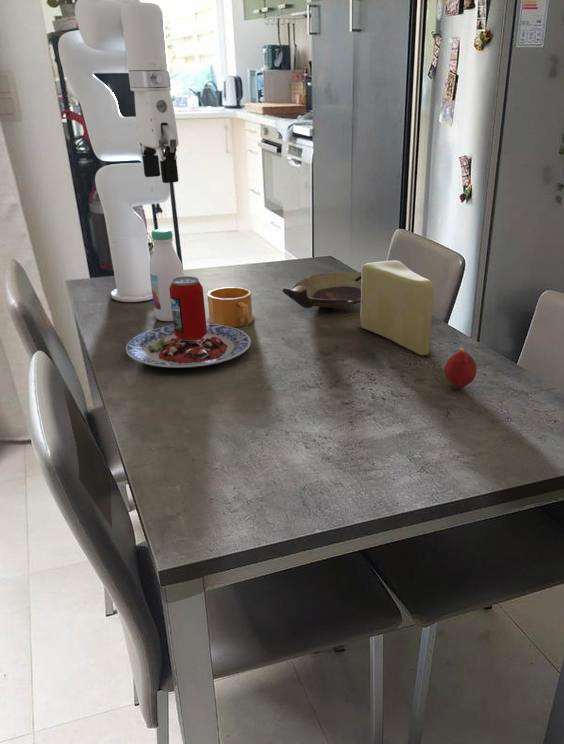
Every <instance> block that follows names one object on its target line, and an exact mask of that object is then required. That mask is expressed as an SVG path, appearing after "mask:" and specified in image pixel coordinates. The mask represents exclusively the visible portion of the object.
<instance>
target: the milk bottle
mask: <svg viewBox="0 0 564 744" xmlns="http://www.w3.org/2000/svg"><path fill="white" fill-rule="evenodd" d="M151 241H152V243H153V250H152V254H151V256H150V279H151V287H152V295H153V299H152V301H153V308H154V316H155V318H156V319H157V320H159V321H161V322H173V317H172V309H171V300H170V291H169V288H170V286H171V283H172V279H174V278H177V277H185V276H184V270H183V265H182V262H181V259H180V257H179V255H178V254H177V252H176V250H175V247H174V244H173V241H174V239H173V231H172V229H168V228H158V229H154V230H152V231H151Z"/></svg>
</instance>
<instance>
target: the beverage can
mask: <svg viewBox="0 0 564 744" xmlns="http://www.w3.org/2000/svg"><path fill="white" fill-rule="evenodd" d="M203 288H204V287H203V285H202V284H201V282H200V280H199V278H198V277H196V276H189V275H188V276H187V275H185V276H184V277H177V278H174V279H172V283H171V286H170V288H169V291H170V300H171V309H172V317H173V321H172V325H174V333H175V336H176V337H178V338H180V339H181V340H184V341H195V340H199V339H201V338H202V337H203V336H205V335H206V334H207V327H206V324H207V317H206V306H205V296H204V289H203Z"/></svg>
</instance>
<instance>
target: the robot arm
mask: <svg viewBox="0 0 564 744" xmlns="http://www.w3.org/2000/svg"><path fill="white" fill-rule="evenodd" d="M163 13H164V12H163V10H162V8H161V7H160V5H159V4H156V3H152V2H141V0H76V2H75V5H74V17H75V19H76V22H77V27H78V29H77V30H72V31H68V32H67V31H66V32H65V33H63V34H62V35H61V36H60V37H59V39H58V43H57V47H58V48H57V50H58V56H59V60H60V64H61V67H62V71H63V73H64V77H65V78H66V80H67V82H68V84H69V85H70V87H71V89H72V91H73V92H74V95H75V96H76V98H77V100H78V103H79V105H80V108H81V112H82V116H83V119H84V123H85V127H86V130H87V134H88V138H89V140H90V145H91V148H92V151H93V153H94V155H95V156H96V158H97V159H99V160H100V161H102V162H125V163H112V164H108V165H104V166H102V167H100V168H99V169H98V170H97V171H96V172H95V177H94V182H95V189H96V191H97V195H98V197H99V201H100V204H101V208H102V213H103V215H104V221H105V226H106V232H107V239H108V245H109V251H110V256H111V264H112V270H113V275H114V281H115V289H113V290H112V291H111V292H110V295H111V299H113V300H115V301H117V302H123V303H137V302H138V303H140V302H146V301H150V300H153V295H152V287H151V279H150V261H151V254H150V246H149V239H148V232H147V226H146V223H145V221H144V220H143V218H142V217H141V216H140V215H139V214H138V213H137V212H136V211H135V210H134V207H138V206H146V205H155V204H156V205H159V204H163V203H166V202H167V201H168V200H169V198H170V195H171V183H178V182H179V171H178V161H177V159H178V156H177V150H178V149H177V148H178V146H179V145H180V144H179V135H178V128H177V120H176V114H175V108H174V103H173V98H172V95H171V90H172V88H171V78H170V77H171V76H170V71H169V70H170V69H169V60H168V59H169V57H168V50H167V49H168V48H167V39H166V31H165V20H164V19H165V18H164V14H163ZM95 74H128V81H129V89H130V91H131V92H134V108H135V116H123V115H122V114H121V112H120V108H119V104H118V100H117V98H116V96H115V94H114V92H112V90H111V89H110V88H109V87H108V86H107V85H106V83H105V82H103V81H102V80H100V79H99V78H98V77H97V76H96V75H95ZM126 161H127V162H128V161H140V162H128V163H127V162H126Z"/></svg>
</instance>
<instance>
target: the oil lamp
mask: <svg viewBox="0 0 564 744" xmlns="http://www.w3.org/2000/svg"><path fill="white" fill-rule="evenodd" d="M361 277H362V271H333V272H322V273H317V274H312V275H310V276H308V277H307V276H306V277H304V278H302V279H300V280H299V281H297V282H296V283H295V284H294V285H293V286H292V288H288V287H283V288H282V290H281V291H282V293H283V294H284V295H286V296H287V297H289V298H290V299H292V301H294V302H295V303H296V304H297V305H299V306H300V307H301V308H303V309H310V308H313V307H317V308H318V307H319V308H326V309H327V308H328V309H330V308H331V309H335V308H345V307H350V306H352V305H357V304H361V282H359V281H360V280H361Z"/></svg>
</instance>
